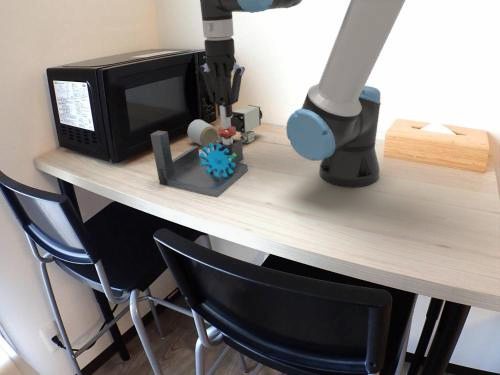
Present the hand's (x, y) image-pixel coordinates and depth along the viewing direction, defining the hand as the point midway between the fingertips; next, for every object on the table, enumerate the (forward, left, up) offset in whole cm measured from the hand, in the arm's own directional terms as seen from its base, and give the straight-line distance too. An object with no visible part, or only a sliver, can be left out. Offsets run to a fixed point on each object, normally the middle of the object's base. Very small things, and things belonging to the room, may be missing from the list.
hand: (226, 127), depth 104 cm
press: (+1, +8, -10) cm, 13 cm away
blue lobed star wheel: (-4, +11, -9) cm, 15 cm away
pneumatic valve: (+3, -16, -11) cm, 20 cm away
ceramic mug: (+15, -11, -11) cm, 21 cm away
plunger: (0, 0, -9) cm, 9 cm away
